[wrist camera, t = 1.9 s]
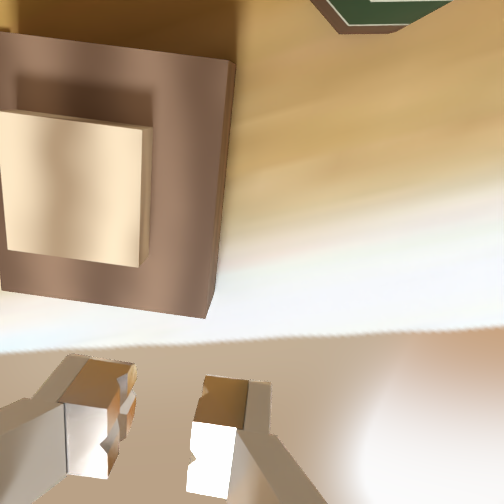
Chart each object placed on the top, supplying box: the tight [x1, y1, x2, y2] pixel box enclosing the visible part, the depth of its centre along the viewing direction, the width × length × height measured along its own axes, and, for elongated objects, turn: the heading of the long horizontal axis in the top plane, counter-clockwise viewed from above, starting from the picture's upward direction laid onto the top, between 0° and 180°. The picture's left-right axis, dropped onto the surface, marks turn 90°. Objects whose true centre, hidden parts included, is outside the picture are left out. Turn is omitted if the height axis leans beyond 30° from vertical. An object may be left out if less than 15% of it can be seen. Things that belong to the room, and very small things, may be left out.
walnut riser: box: [0, 32, 236, 319], centre depth 28 cm, size 14×16×4 cm
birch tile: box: [0, 110, 153, 268], centre depth 25 cm, size 8×8×2 cm
